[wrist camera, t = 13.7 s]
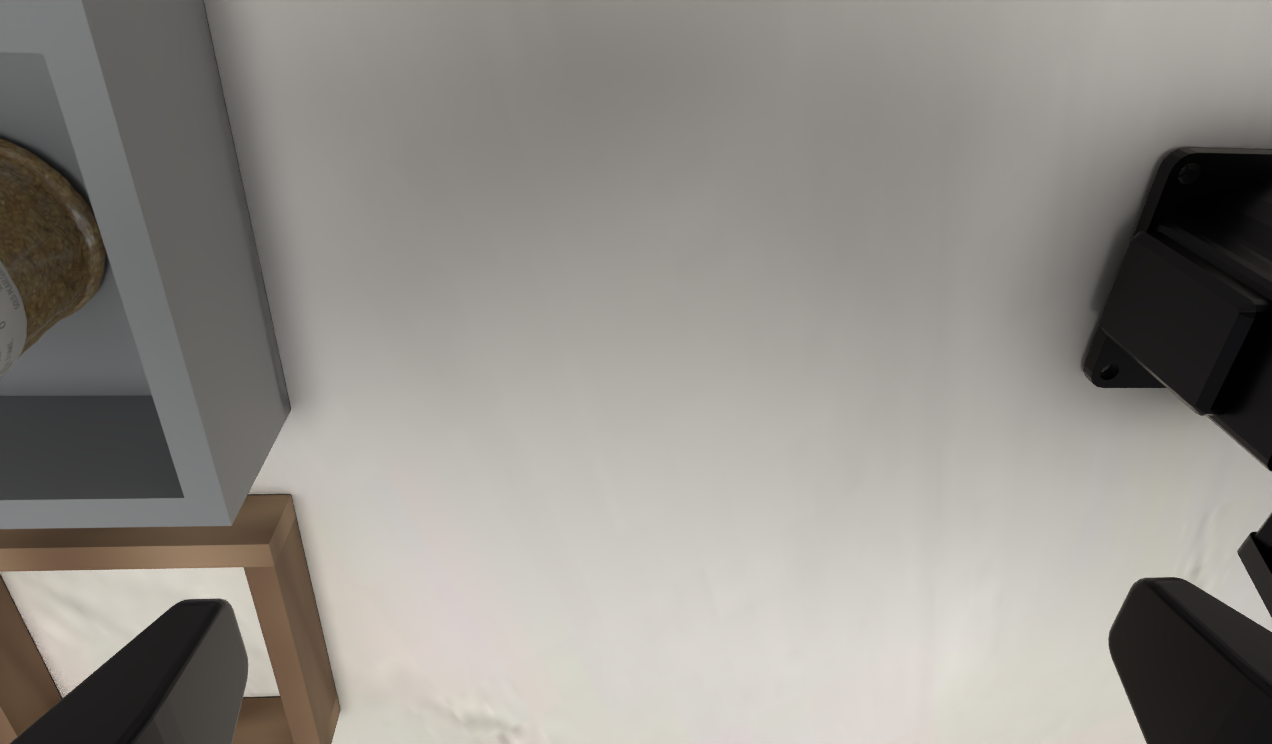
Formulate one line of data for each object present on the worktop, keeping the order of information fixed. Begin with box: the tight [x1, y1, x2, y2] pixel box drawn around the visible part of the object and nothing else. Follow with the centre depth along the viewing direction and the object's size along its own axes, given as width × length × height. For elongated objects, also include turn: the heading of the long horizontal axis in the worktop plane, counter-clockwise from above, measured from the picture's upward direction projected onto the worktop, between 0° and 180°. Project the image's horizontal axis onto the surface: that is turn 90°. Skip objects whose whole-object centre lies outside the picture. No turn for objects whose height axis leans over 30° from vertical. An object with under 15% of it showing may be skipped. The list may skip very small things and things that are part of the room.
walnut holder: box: [0, 495, 340, 744], centre depth 25 cm, size 10×10×2 cm
